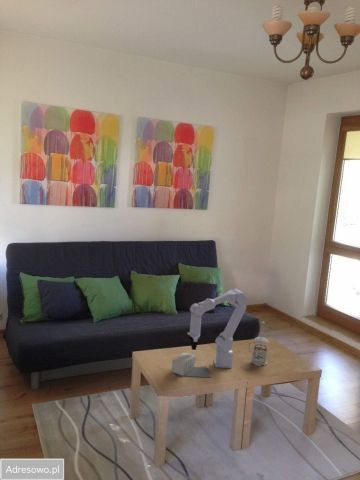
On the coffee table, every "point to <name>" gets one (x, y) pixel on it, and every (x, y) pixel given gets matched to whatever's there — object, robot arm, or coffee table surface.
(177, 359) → the supplement box
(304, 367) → the coffee table surface
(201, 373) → the mat
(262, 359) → the french press
